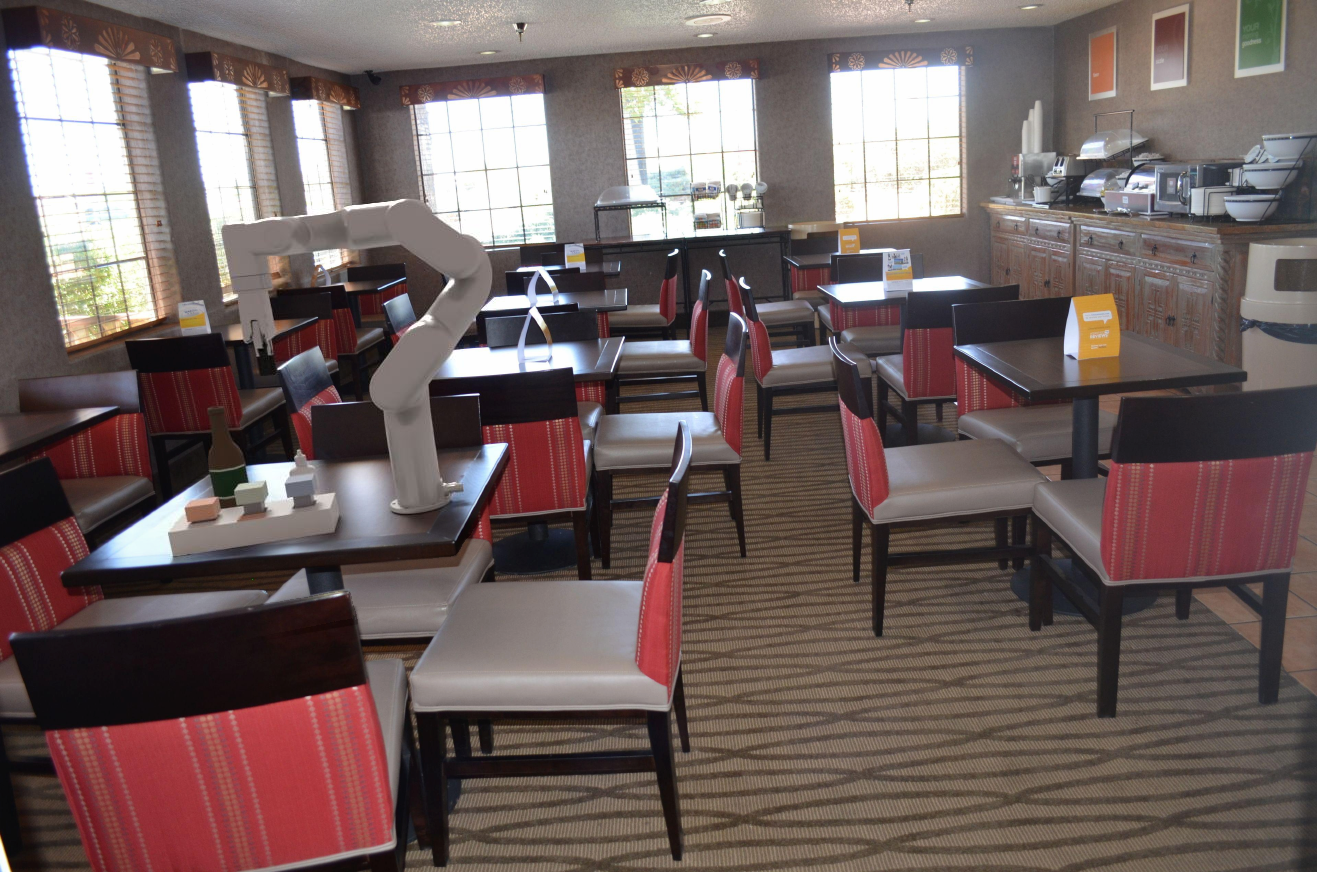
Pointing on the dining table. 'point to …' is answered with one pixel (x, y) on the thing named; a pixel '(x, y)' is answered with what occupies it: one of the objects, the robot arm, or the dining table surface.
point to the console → (255, 526)
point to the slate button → (301, 490)
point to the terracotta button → (202, 510)
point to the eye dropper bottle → (304, 469)
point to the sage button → (252, 497)
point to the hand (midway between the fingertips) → (268, 374)
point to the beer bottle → (224, 460)
